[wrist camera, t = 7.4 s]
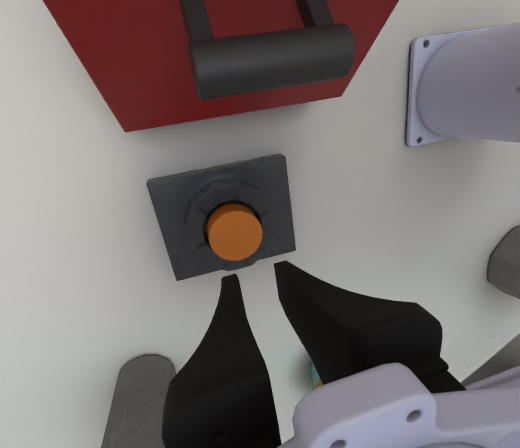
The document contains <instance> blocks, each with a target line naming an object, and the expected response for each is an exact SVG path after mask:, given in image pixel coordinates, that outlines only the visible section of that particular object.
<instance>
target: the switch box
mask: <svg viewBox="0 0 520 448" xmlns="http://www.w3.org/2000/svg"><path fill="white" fill-rule="evenodd" d="M147 187H148V190H149V193H150V196H151V200H152V203H153V206H154V209H155V213H156V216H157V219H158V222H159V226H160V229H161V232H162V235H163V239H164V242H165V245H166V248H167V252H168V255H169V258H170V261H171V265H172V268H173V271H174V274H175V277H176V280H177V281H179V280H183V279H187V278H191V277H195V276H198V275H202V274H206V273H210V272H214V271H218V270H227V271H231V270H235V269H239V268H243V267H247V266H251V265H253V264H254V263H255V262H256V261H257V260H260V259H264V258H268V257H272V256H276V255H280V254H284V253H288V252H291V251H295V250H296V247H295V238H294V229H293V220H292V211H291V202H290V193H289V184H288V175H287V166H286V157H285V156H284V155H282V154H277V155H272V156H266V157H261V158H256V159H251V160H246V161H241V162H236V163H231V164H226V165H221V166H215V167H210V168H205V169H200V170H195V171H190V172H185V173H180V174H175V175H169V176H164V177H159V178H154V179H149V180H148V182H147ZM227 204H240V205H243V206H245V207H247V208H248V209H250V210H251V211H252V213H253V214H254V215H255V217H256V218H257V219H258V221H259V223H260V224H261V227H262V240H261V243H260V245H259V247H258V249H257V250H256V251H255V252H254V253H253V254H252V255H250V256H249V257H247V258H245V259H242V260H237V261H230V260H226V259H223V258H221V257H219V256H218V255H217V254H216V253H215V252H214V251H213V250H212V248H211V246H210V243H209V238H208V234H207V224H208V220H209V218H210V216H211V215H212V214H213V212H214V211H215V210H217V209H218V208H220V207H221V206H224V205H227Z"/></svg>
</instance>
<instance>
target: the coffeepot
mask: <svg viewBox="0 0 520 448" xmlns="http://www.w3.org/2000/svg"><path fill="white" fill-rule="evenodd" d="M488 278H489V282H490V283H491V284H492V285H494V286H495V287H497V288H498V289H500V290H501V291H502V292H504V293H506V294H509V295H512V296H514V297H517V298H519V299H520V226H518V227H516V228H515V229H513V230H512V231H510V232H509V233H508V234H507V235H506V236H505V237H504V238H503V239H502V240H501V241H500V243H499V244H498V245H497V247H496V248H495V250H494V252H493V254H492V256H491V258H490V261H489V265H488Z"/></svg>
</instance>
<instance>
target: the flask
mask: <svg viewBox="0 0 520 448" xmlns="http://www.w3.org/2000/svg"><path fill="white" fill-rule="evenodd" d="M175 376H176V372H175V367H174V366H173V365H172V364H171V362H170V361H169V360H167V359H165V358H162V357H160V356H144V357H140V358H136V359H134V360H132V361H131V362H129V363H127V364H126V365H125V366H124V367H123V368H122V370H121V371H120V373H119V376H118V379H117V383H116V388H115V392H114V396H113V400H112V404H111V408H110V413H109V417H108V421H107V425H106V429H105V433H104V438H103V442H102V446H101V448H165V446H164V444H163V440H162V435H161V434H162V417H163V409H164V404H165V399H166V394H167V391H168V387H169V383H170V381H171V380H172V379H173V378H174V377H175Z"/></svg>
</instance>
